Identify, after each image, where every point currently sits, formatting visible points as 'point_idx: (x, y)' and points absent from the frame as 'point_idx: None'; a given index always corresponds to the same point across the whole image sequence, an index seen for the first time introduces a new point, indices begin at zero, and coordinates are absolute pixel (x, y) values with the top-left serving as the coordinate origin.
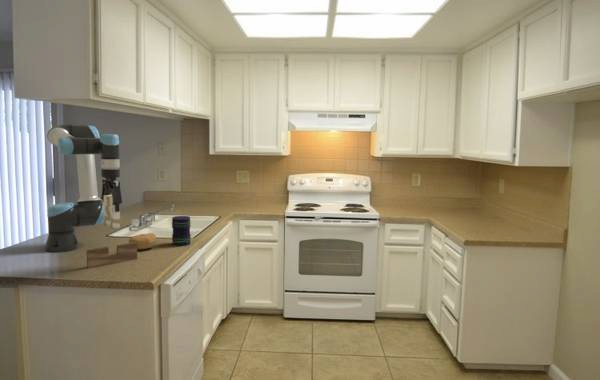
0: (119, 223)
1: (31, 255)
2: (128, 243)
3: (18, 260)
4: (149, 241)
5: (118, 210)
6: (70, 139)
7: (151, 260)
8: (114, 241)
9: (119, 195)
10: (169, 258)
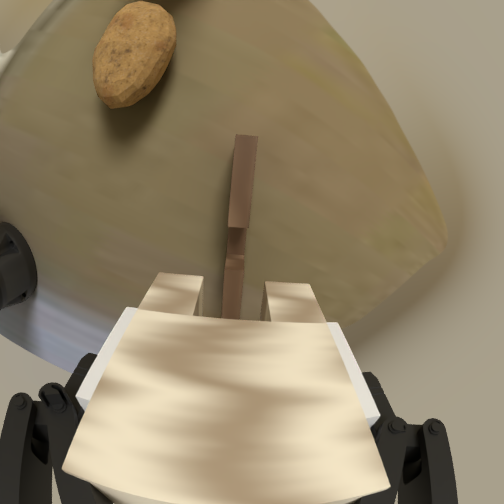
0: (314, 300)
1: (44, 331)
2: (242, 173)
3: (72, 360)
4: (172, 39)
5: (373, 385)
6: None
7: (312, 116)
8: (10, 118)
9: (443, 492)
10: (336, 64)
